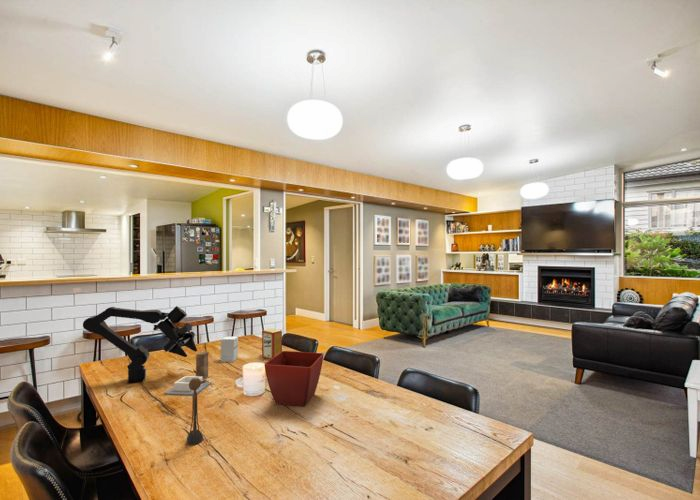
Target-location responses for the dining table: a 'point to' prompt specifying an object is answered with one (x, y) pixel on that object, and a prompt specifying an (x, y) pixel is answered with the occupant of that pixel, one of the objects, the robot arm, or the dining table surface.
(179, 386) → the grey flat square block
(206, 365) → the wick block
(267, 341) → the baking soda box
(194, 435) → the wooden tabletop sculpture
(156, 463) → the dining table surface
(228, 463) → the dining table surface
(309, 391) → the plant pot
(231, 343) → the supplement box
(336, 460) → the dining table surface
